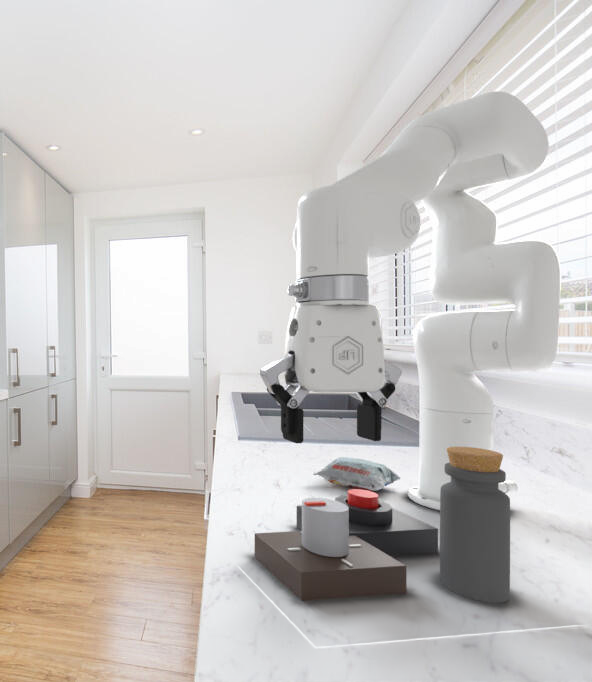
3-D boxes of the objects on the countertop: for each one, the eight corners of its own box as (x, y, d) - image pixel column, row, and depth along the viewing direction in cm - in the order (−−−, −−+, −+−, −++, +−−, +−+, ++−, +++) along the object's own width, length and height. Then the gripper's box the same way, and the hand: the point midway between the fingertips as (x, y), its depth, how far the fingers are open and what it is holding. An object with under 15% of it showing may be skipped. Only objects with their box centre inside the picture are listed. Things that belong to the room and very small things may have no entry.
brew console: (343, 552, 60) (343, 527, 60) (406, 593, 51) (406, 564, 50) (254, 557, 59) (254, 531, 59) (301, 601, 49) (301, 570, 49)
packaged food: (384, 500, 80) (384, 471, 80) (312, 484, 89) (312, 457, 89) (401, 490, 85) (401, 463, 85) (331, 476, 94) (331, 451, 94)
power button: (365, 501, 66) (365, 488, 66) (385, 510, 62) (385, 496, 62) (341, 502, 66) (341, 489, 66) (360, 511, 62) (360, 498, 62)
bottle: (426, 576, 54) (427, 445, 54) (473, 574, 55) (474, 444, 55) (473, 605, 48) (473, 458, 48) (525, 602, 49) (526, 457, 49)
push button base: (378, 523, 70) (379, 489, 70) (438, 554, 60) (438, 514, 60) (296, 527, 68) (296, 493, 68) (343, 559, 58) (343, 519, 58)
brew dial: (330, 538, 57) (331, 494, 57) (358, 556, 53) (358, 508, 53) (293, 539, 57) (293, 495, 57) (317, 558, 52) (318, 510, 52)
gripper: (279, 290, 51) (279, 449, 51) (424, 292, 53) (423, 445, 53) (246, 296, 59) (246, 435, 59) (374, 298, 61) (374, 432, 61)
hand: (331, 439), depth 56 cm, fingers open, 9 cm apart
